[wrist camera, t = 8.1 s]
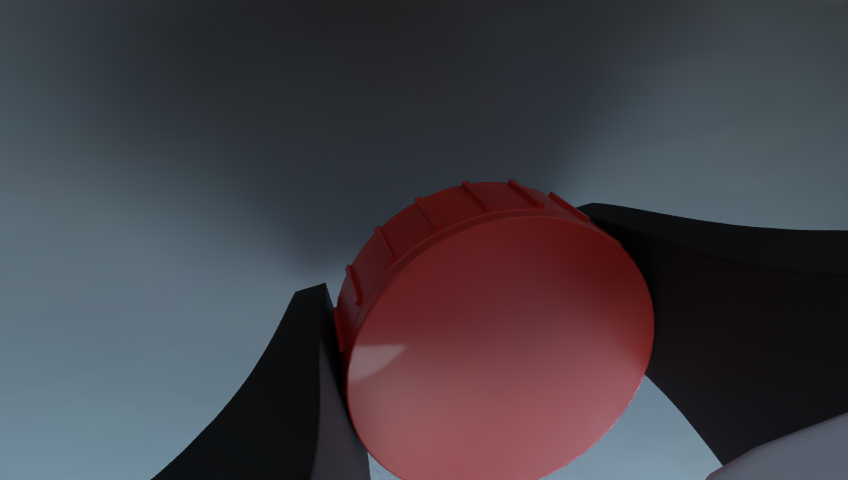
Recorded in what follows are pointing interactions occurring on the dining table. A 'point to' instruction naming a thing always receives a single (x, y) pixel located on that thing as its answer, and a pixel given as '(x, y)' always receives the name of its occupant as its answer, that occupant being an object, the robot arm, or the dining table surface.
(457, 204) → the lid
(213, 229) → the dining table surface
